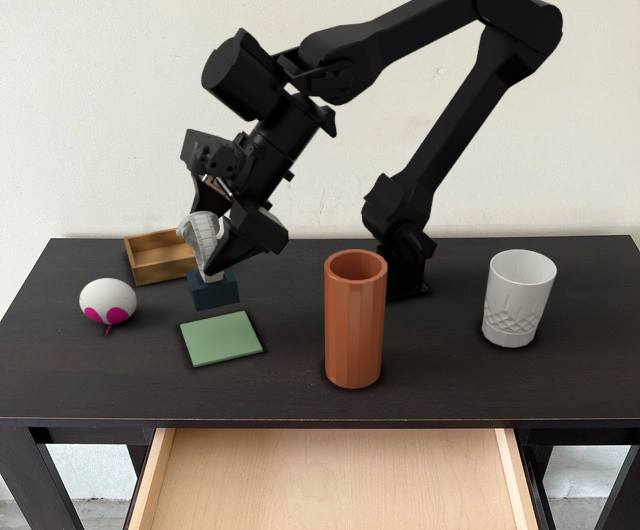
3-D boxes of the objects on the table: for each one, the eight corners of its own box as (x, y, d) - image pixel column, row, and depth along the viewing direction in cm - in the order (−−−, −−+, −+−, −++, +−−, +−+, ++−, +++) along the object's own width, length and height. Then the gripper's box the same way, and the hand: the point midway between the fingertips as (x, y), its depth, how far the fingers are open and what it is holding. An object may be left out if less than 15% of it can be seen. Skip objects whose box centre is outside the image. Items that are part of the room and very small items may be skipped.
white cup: (499, 307, 91) (514, 242, 84) (550, 332, 87) (569, 266, 80) (465, 332, 87) (477, 266, 80) (516, 359, 83) (533, 292, 76)
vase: (367, 348, 85) (372, 244, 74) (388, 381, 81) (397, 275, 70) (318, 360, 83) (316, 255, 73) (336, 394, 79) (337, 288, 68)
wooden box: (198, 241, 104) (195, 223, 102) (211, 271, 98) (209, 253, 96) (127, 254, 102) (123, 237, 100) (136, 286, 96) (132, 268, 94)
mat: (244, 312, 91) (244, 310, 90) (262, 351, 85) (262, 349, 85) (180, 326, 89) (179, 324, 88) (194, 367, 83) (193, 365, 83)
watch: (228, 276, 86) (216, 196, 78) (243, 310, 81) (231, 228, 73) (186, 285, 85) (169, 205, 77) (198, 320, 80) (181, 238, 72)
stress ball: (90, 345, 91) (68, 330, 85) (94, 290, 93) (73, 271, 86) (143, 344, 91) (125, 329, 84) (146, 289, 92) (129, 270, 86)
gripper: (192, 73, 73) (118, 189, 78) (250, 133, 62) (159, 265, 67) (264, 131, 81) (193, 233, 86) (328, 195, 69) (241, 309, 74)
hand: (195, 256), depth 78 cm, fingers closed on watch, 8 cm apart
